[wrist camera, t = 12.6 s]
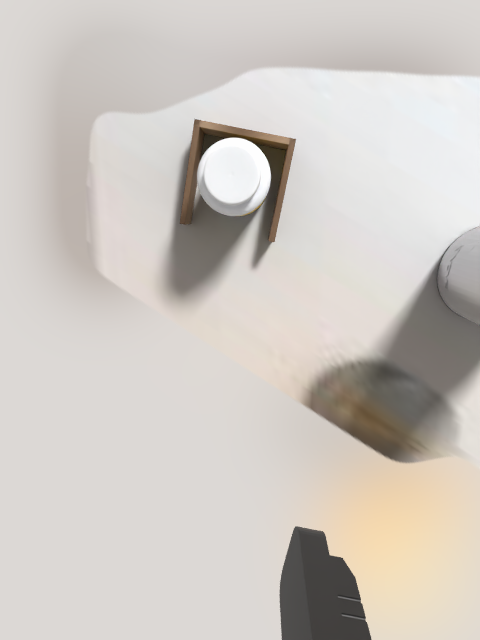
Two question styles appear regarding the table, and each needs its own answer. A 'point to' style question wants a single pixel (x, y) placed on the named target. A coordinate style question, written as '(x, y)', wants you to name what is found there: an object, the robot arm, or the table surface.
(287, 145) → the walnut u rest
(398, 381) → the table surface
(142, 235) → the table surface
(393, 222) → the table surface
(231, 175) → the supplement bottle
